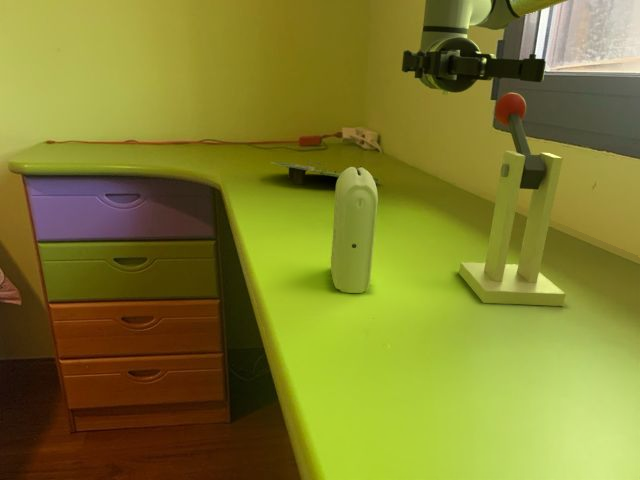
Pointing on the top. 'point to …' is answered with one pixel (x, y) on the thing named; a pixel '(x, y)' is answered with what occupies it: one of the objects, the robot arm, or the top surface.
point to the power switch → (523, 279)
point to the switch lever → (520, 138)
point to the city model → (299, 170)
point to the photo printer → (353, 230)
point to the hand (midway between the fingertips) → (488, 67)
